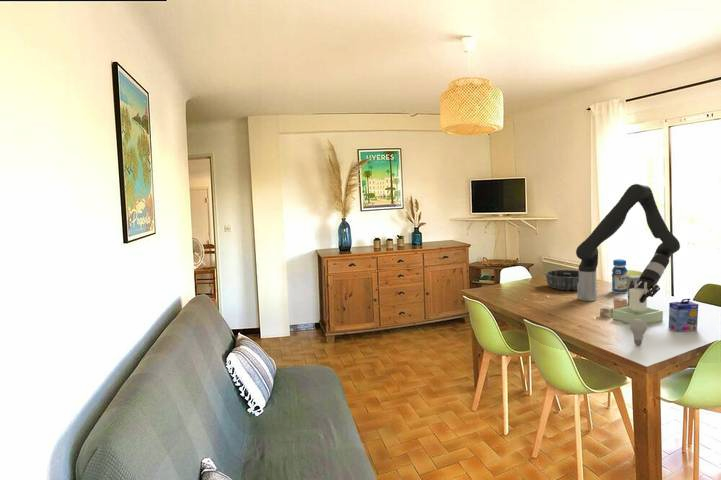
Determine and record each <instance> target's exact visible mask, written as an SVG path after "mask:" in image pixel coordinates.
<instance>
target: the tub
mask: <svg viewBox="0 0 721 480" xmlns="http://www.w3.org/2000/svg"><path fill="white" fill-rule="evenodd" d="M634 319H641V320H643V321H644V322H645V323H646V325H647V326H648V325H651V324H655V323H660V322H663V321H664V312H663V310H661V309H656V308H652V307H647V310H644V311H635V310H631V309H629V306H627V307H624V308H619V309H614V308H613V317H612V320H613V321H614V320H615V321H618V322H621V323H625V324H628V325H630V322H631V321H632V320H634Z"/></svg>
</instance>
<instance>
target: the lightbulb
mask: <svg viewBox="0 0 721 480" xmlns="http://www.w3.org/2000/svg"><path fill="white" fill-rule="evenodd" d="M628 325H629V330H630V331H631V333H632V335H633V340H634V341H633V343H634V344H635V345H636V346H641V345H642V344H643V338H644V335H645V333H646V332H647V331H648V324H647V325H646V323H645V322H644V321H643V320H641V319H634V320H632V321H631V322H630V324H628Z"/></svg>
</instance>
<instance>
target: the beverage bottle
mask: <svg viewBox="0 0 721 480" xmlns="http://www.w3.org/2000/svg"><path fill="white" fill-rule="evenodd" d="M612 263H613V264H612V265H613V267H612V270H611V272H612V273H611V287H612V288H611V292H612V293H613V294H614V293H615V294H626V293H627V278H626V276H629V275H628V269H627V267H626V266H627V260H626V259H620V258H619V259H614V260H612Z"/></svg>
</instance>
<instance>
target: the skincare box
mask: <svg viewBox="0 0 721 480" xmlns="http://www.w3.org/2000/svg"><path fill="white" fill-rule="evenodd" d="M640 276H641V275H639V274H635V275H628V276H626V278H627V297H628V296H629V290H628V288H629V285H630V282H631V281H634V282H637V281H638V280H639V279H640ZM627 304H629V299H628V298H627Z"/></svg>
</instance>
